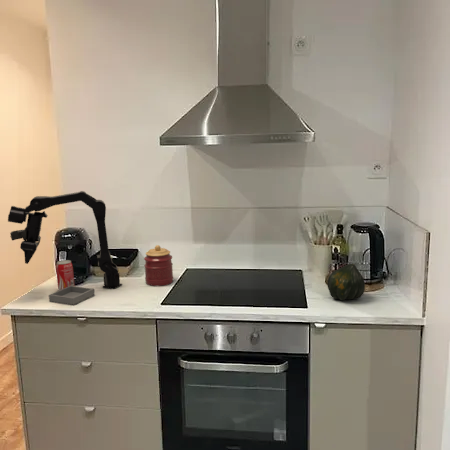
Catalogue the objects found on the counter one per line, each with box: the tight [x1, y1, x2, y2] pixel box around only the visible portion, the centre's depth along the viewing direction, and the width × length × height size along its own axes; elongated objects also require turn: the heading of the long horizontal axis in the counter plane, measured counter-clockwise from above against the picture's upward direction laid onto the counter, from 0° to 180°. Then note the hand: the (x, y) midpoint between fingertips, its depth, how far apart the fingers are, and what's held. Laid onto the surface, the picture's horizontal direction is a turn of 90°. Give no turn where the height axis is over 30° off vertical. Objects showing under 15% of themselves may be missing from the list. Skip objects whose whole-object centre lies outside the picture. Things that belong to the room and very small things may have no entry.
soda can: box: [55, 259, 76, 291], centre depth 213 cm, size 7×7×13 cm
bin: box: [48, 285, 95, 306], centre depth 202 cm, size 13×13×3 cm
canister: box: [143, 244, 174, 287], centre depth 220 cm, size 13×13×18 cm
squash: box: [327, 263, 366, 301], centre depth 193 cm, size 14×15×15 cm
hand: (27, 260), depth 205 cm, fingers open, 9 cm apart
